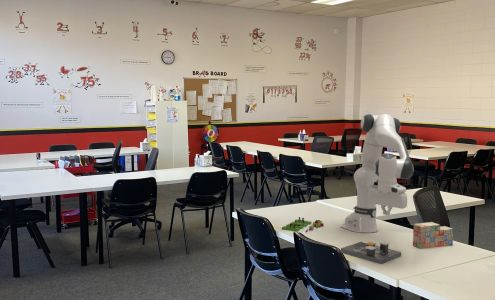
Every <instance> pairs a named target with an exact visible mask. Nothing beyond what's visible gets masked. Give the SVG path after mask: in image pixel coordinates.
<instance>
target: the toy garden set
mask: <svg viewBox="0 0 495 300" xmlns="http://www.w3.org/2000/svg"><path fill="white" fill-rule="evenodd" d="M311 224H312V225H311ZM308 225H309V227H308V228H307V229H306V230H305V233H307V232H308V231H312V232H313V231H314V228H321V227H324V223H323V221H322V220H320V219H318V220H317V219H316V220H315V221H314V222H313V223H312V221H310V220H305V217H302V218H301V217H300V216H299V217H298V219H295V220H294V221H292V222H291V221H290V223H287V224H286V225H284V226H282V227H281V230H282V231H284V230H285V231H291V232H295V231H297V232H299V231H300V230H303V229H304V228H306V227H307V226H308Z"/></svg>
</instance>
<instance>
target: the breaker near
mask: <svg viewBox="0 0 495 300" xmlns="http://www.w3.org/2000/svg"><path fill="white" fill-rule="evenodd" d="M375 249H376V247H373V246H368V247H366V254H369V255H374V254H375Z"/></svg>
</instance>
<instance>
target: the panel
mask: <svg viewBox="0 0 495 300" xmlns="http://www.w3.org/2000/svg"><path fill="white" fill-rule="evenodd" d="M366 243H367V242H364V241H359V242H356V243H354V244H353V243H352V244H351V245H347V246H344V247H341V248H340V252H341V251H342V252H343V254H347V255H350V256H353V257H357V258H359V259H363V260H366V261H370V262H372V263H374V262H375V263H377V264H380V265H381V264H382V265H383V264H385V263H387V262H389V261H391V260H394V259H397V258H401V256H402V251H398V250H395V249H390V248H388V250H382V249H380V245H375V247H376V249H375V254H374V255H369V254H366V247H367V244H366ZM342 252H341V253H342Z"/></svg>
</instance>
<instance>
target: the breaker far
mask: <svg viewBox="0 0 495 300" xmlns="http://www.w3.org/2000/svg"><path fill="white" fill-rule="evenodd" d="M389 245H390V242H388V241H384V240H383V241H380V242H379V247H380V249H382V250H388V249H389Z"/></svg>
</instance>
